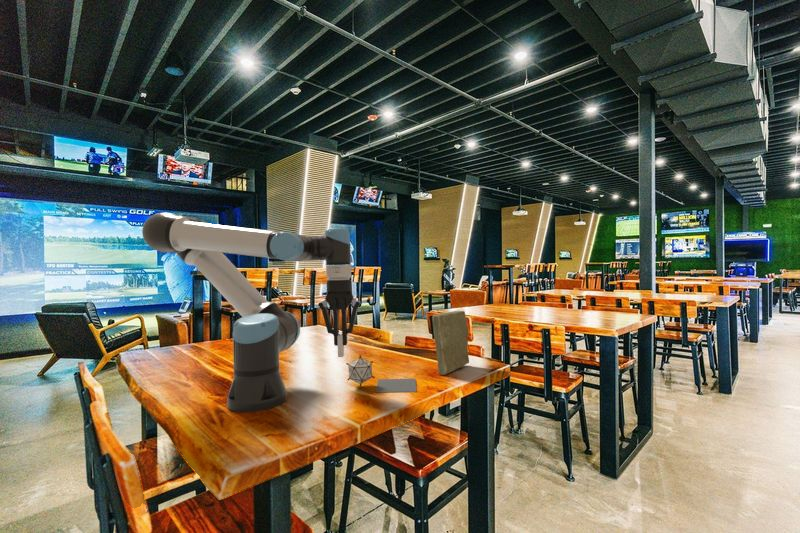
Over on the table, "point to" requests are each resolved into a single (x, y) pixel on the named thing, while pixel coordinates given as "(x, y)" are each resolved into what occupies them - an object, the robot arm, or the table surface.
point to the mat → (396, 385)
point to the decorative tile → (451, 340)
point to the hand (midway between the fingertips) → (341, 355)
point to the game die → (360, 370)
